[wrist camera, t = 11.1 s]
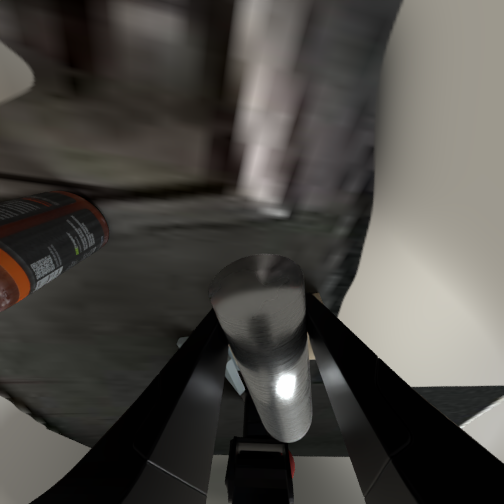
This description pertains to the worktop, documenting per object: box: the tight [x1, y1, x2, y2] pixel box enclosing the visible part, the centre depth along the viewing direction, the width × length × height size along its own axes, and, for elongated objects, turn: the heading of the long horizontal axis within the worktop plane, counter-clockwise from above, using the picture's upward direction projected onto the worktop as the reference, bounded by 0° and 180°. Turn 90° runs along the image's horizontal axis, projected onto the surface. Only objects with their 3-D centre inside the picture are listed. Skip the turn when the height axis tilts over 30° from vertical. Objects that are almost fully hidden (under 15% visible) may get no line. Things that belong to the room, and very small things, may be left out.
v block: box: [177, 337, 245, 395], centre depth 25 cm, size 8×9×4 cm
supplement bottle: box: [0, 191, 109, 312], centre depth 12 cm, size 6×6×11 cm
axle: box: [209, 254, 312, 443], centre depth 9 cm, size 11×4×4 cm, turn 11°
